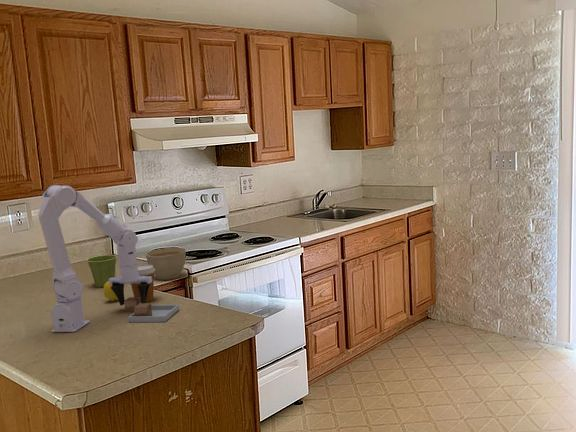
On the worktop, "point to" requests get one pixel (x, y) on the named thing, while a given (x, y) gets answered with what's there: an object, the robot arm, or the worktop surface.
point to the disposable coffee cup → (142, 271)
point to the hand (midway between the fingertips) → (133, 304)
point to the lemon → (109, 292)
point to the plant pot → (102, 268)
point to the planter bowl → (167, 262)
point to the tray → (156, 314)
